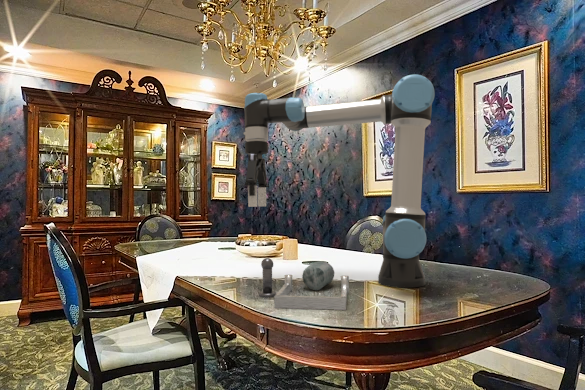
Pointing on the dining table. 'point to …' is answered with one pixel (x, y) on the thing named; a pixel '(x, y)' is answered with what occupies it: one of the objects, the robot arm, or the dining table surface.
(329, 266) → the grey rounded piece
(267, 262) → the post
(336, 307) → the keeper cradle
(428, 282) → the dining table surface
